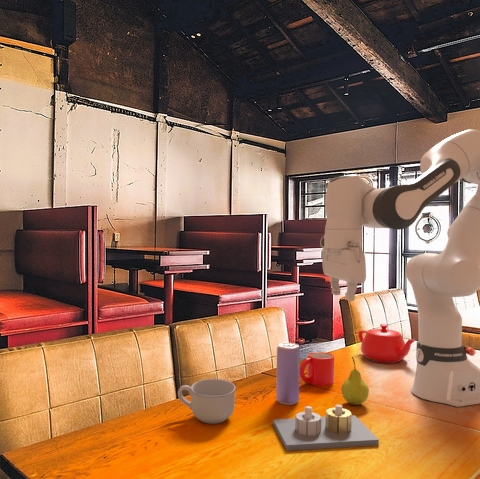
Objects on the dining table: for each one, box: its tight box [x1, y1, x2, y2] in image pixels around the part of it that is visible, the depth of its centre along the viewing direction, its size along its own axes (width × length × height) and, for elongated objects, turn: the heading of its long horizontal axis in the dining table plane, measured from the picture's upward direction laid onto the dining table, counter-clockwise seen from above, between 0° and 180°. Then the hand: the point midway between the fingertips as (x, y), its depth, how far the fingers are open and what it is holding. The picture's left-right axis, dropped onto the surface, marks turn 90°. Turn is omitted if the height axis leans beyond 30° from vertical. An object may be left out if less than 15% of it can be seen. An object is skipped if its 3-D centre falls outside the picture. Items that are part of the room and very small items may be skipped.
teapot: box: [357, 323, 417, 364], centre depth 166 cm, size 25×16×12 cm, turn 32°
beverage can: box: [275, 342, 301, 406], centre depth 125 cm, size 6×6×15 cm
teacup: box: [177, 378, 237, 425], centre depth 114 cm, size 14×11×8 cm
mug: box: [299, 351, 335, 387], centre depth 141 cm, size 8×12×8 cm, turn 126°
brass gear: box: [325, 407, 353, 434], centre depth 106 cm, size 5×5×4 cm
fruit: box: [340, 356, 369, 406], centre depth 123 cm, size 7×7×12 cm
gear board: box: [272, 404, 380, 452], centre depth 105 cm, size 20×13×6 cm, turn 98°
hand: (342, 297), depth 116 cm, fingers open, 8 cm apart
